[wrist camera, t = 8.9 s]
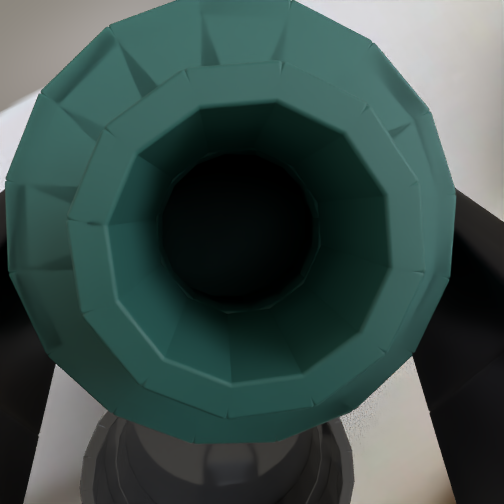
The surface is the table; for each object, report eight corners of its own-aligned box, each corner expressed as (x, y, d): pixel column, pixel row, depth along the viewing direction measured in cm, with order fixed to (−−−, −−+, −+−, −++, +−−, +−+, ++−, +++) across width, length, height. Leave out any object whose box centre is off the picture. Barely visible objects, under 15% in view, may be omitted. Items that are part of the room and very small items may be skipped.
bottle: (270, 326, 16) (420, 680, 4) (116, 262, 16) (-280, 456, 3) (337, 176, 16) (738, 57, 4) (183, 103, 15) (19, -361, 3)
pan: (237, 572, 25) (241, 653, 20) (61, 455, 23) (22, 516, 18) (372, 411, 24) (406, 458, 20) (202, 280, 22) (197, 299, 18)
